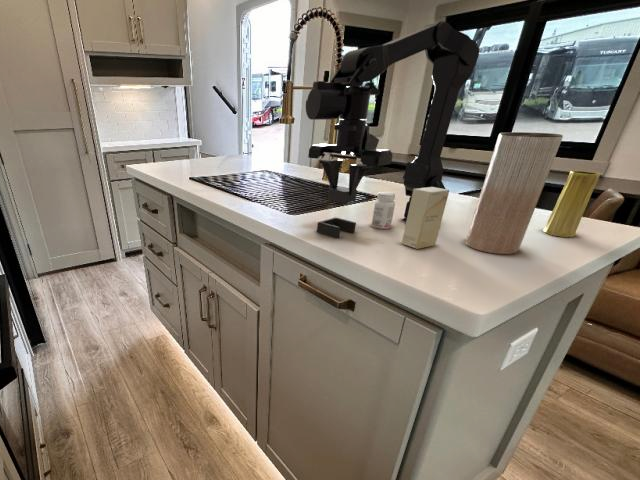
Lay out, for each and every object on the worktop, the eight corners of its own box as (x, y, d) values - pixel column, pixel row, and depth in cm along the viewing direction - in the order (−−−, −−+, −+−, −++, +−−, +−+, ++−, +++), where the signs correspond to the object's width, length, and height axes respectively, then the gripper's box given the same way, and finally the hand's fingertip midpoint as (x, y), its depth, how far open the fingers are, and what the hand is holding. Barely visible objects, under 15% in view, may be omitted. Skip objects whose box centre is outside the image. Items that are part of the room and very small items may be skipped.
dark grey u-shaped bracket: (354, 232, 88) (356, 222, 87) (337, 238, 84) (338, 227, 83) (334, 226, 93) (335, 217, 91) (316, 232, 89) (317, 222, 87)
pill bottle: (387, 224, 95) (394, 191, 91) (392, 229, 90) (399, 195, 86) (369, 223, 95) (374, 191, 91) (373, 228, 91) (379, 195, 87)
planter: (507, 241, 82) (547, 132, 72) (526, 256, 74) (575, 136, 63) (459, 237, 85) (491, 131, 74) (472, 252, 76) (511, 135, 65)
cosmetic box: (416, 249, 78) (430, 192, 72) (400, 243, 81) (412, 188, 75) (436, 245, 80) (451, 189, 74) (419, 239, 84) (432, 185, 78)
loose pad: (355, 200, 85) (357, 189, 84) (343, 203, 82) (345, 192, 81) (339, 197, 88) (341, 186, 87) (327, 199, 85) (328, 188, 84)
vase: (570, 231, 89) (597, 171, 82) (578, 239, 84) (608, 175, 77) (540, 228, 91) (564, 169, 84) (546, 235, 86) (572, 173, 79)
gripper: (413, 119, 75) (397, 195, 82) (340, 117, 88) (332, 183, 95) (384, 121, 69) (369, 202, 76) (309, 118, 81) (303, 189, 89)
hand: (342, 193), depth 84 cm, fingers closed on loose pad, 4 cm apart
